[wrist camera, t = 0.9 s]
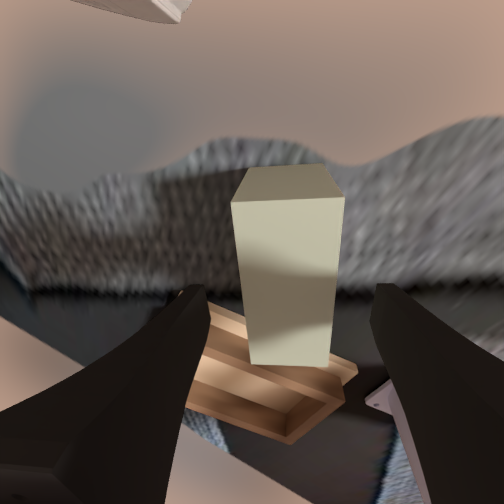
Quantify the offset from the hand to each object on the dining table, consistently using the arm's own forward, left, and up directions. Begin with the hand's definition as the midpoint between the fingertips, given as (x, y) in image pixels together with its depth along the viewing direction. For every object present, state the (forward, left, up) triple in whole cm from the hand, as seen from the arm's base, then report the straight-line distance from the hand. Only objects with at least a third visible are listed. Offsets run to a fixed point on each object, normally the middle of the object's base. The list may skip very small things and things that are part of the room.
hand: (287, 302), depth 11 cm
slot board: (-3, +13, -6) cm, 15 cm away
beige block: (0, 0, -6) cm, 6 cm away
